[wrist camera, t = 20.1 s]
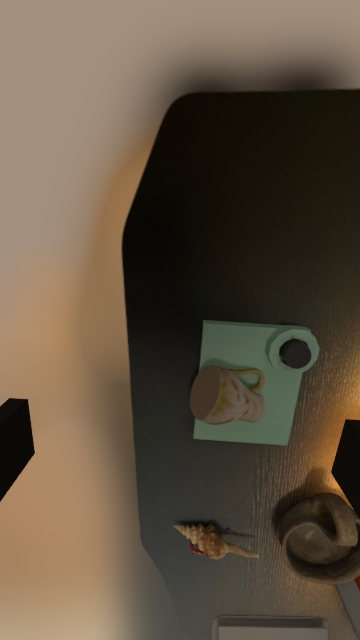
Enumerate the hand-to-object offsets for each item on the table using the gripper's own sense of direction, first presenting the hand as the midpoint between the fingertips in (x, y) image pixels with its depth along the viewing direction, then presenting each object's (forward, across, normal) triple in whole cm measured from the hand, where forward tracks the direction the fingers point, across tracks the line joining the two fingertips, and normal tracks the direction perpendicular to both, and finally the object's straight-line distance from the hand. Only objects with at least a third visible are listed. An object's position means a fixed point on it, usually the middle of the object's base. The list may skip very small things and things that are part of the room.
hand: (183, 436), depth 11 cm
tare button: (+23, +14, -5) cm, 27 cm away
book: (+25, +21, -70) cm, 77 cm away
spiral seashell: (+25, +7, -41) cm, 48 cm away
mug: (+24, +7, -11) cm, 27 cm away
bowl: (+25, +23, -34) cm, 48 cm away
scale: (+26, +9, -12) cm, 30 cm away
